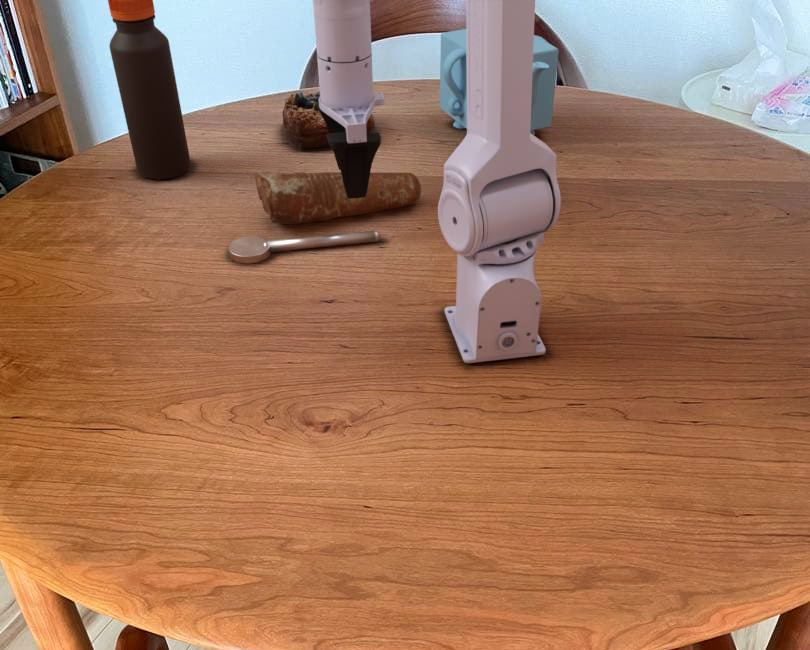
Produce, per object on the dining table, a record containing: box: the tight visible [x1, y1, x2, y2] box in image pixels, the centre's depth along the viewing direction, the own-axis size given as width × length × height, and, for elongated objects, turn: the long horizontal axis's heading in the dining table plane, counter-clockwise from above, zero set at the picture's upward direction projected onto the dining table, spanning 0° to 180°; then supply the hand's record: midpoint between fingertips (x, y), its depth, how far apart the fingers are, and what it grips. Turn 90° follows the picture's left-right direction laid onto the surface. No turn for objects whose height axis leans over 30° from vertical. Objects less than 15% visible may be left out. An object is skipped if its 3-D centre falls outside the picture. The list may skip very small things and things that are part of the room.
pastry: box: [281, 91, 375, 152], centre depth 121 cm, size 11×12×6 cm
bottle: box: [107, 0, 191, 181], centre depth 109 cm, size 7×7×20 cm
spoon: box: [228, 230, 381, 265], centre depth 101 cm, size 5×17×1 cm, turn 100°
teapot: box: [439, 28, 560, 136], centre depth 117 cm, size 18×16×13 cm
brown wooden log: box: [255, 171, 422, 225], centre depth 105 cm, size 6×19×6 cm, turn 104°
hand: (351, 182), depth 104 cm, fingers open, 7 cm apart
